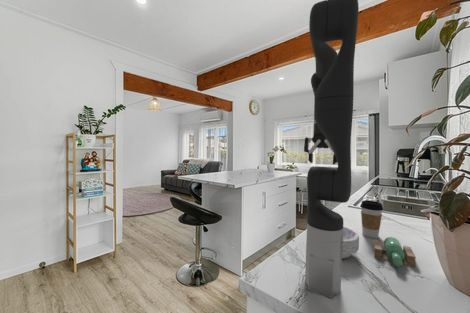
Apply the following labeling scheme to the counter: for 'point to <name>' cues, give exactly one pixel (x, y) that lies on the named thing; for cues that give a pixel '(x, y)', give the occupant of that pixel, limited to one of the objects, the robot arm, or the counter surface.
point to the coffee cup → (371, 218)
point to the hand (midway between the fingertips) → (322, 163)
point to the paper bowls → (349, 242)
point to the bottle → (394, 251)
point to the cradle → (382, 254)
